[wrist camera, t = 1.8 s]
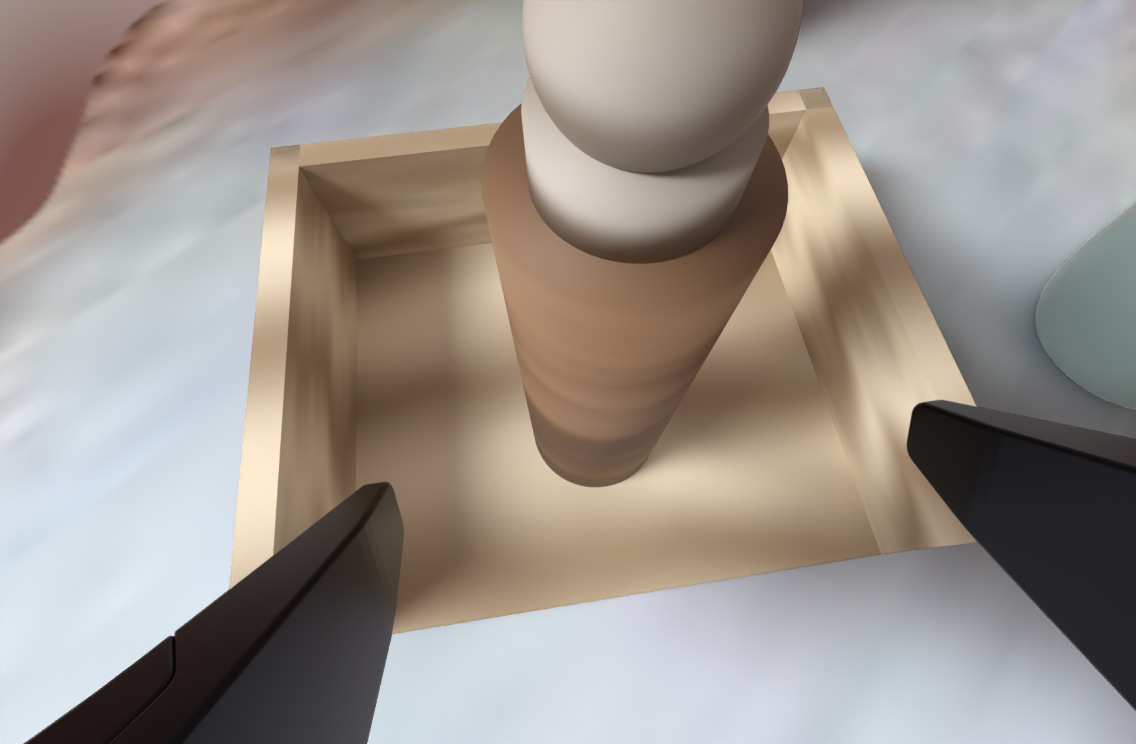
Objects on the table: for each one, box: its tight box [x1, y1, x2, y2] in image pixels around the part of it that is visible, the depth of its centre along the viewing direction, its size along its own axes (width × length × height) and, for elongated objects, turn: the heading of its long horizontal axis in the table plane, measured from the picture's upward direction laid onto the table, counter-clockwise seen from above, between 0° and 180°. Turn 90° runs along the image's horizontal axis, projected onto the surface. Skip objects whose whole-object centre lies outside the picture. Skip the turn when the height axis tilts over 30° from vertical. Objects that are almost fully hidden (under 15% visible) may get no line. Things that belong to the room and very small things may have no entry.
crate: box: [229, 87, 977, 634], centre depth 18 cm, size 16×20×6 cm
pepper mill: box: [481, 0, 803, 487], centre depth 12 cm, size 5×5×17 cm
